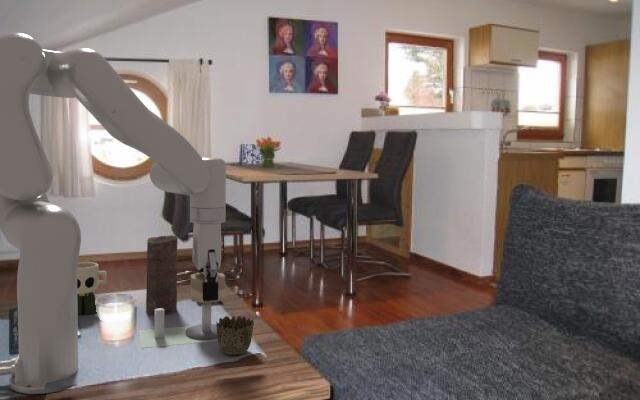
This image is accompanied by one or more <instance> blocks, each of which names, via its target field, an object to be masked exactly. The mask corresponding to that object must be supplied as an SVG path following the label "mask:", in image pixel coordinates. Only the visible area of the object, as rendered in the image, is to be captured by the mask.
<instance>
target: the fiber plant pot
mask: <svg viewBox="0 0 640 400" xmlns="http://www.w3.org/2000/svg"><path fill="white" fill-rule="evenodd" d="M218 321H219V322H218ZM218 321H216V322H215V324H216V325H217V335H218V341H217V342H218V346H219V348H220V350H221V351H222V352H223V353H225V354H227V355H228V356H232V357H234V356H240V355H243V354H244V353H245V352H247V351H248V350H249V349H250V346H251V343H252V338H253V332H254V324H255V323H254V319H253V318H252V319H251V318H250V317H248V318H247V319H246V316H241V315H239V316H238V317H237V318H236V317H235V315H233V316H232V317H231V318H230V317H229V316H228V315H226V316H224V317H223V318H222V317H220V318H219V320H218Z"/></svg>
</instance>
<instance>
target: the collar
mask: <svg viewBox="0 0 640 400" xmlns="http://www.w3.org/2000/svg"><path fill="white" fill-rule="evenodd" d="M207 273H208V272H207ZM217 273H218V300H213V301H203V282H204V272H199V273H198V272H196V273H192V274H190V278H189V280H190V281H189V282H190V285H189V287H190V288H189V289H190V290H189V291H190V293H189V294H190V300H191V302H193V303H194V302H195V303H200V304H203V303H211V304H212V303H218V302H221V301H222V300H225V299H226V297H225V295H226V289H225V288H226V276H225V274H224V273H223V272H217Z"/></svg>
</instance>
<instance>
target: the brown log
mask: <svg viewBox="0 0 640 400" xmlns="http://www.w3.org/2000/svg"><path fill="white" fill-rule="evenodd" d="M146 242H147V244H146V248H147V249H146V295H145V296H146V299H145V307H146V308H145V312H146V314H148V315H151V316H152V315H153V316H155V309H158V308H163V309H164V316H166V315H171V314H174V313H176V312H177V309H178V307H177V306H178V236H176V235H172V234H171V235H161V236H156V237H155V236H153V237H152V236H151V237H148V238H147V241H146Z"/></svg>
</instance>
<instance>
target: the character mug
mask: <svg viewBox="0 0 640 400" xmlns="http://www.w3.org/2000/svg"><path fill="white" fill-rule="evenodd" d="M99 269H100V268H99V264H98V263H97V262H94V261H93V262H91V261H82V262H80V261H78V267H77V302H78V317H79V316H91V315H97V314H98V311H97V312H96V306H97V304H96V305H95V300H96V296H95V293H94V292H96V291H97V290H98V288H99V286H100V285H106V284H108V272H107V270H99ZM100 276H102V280H100V278H99V277H100Z"/></svg>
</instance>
